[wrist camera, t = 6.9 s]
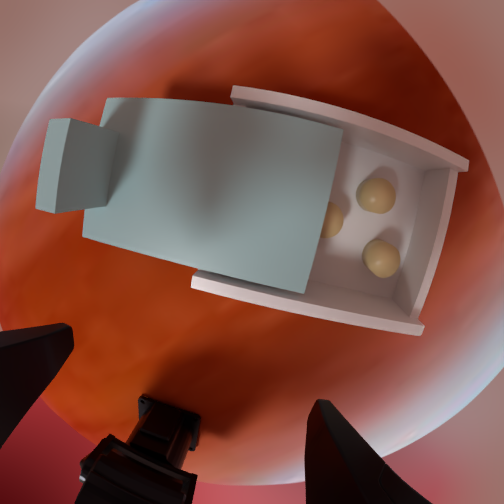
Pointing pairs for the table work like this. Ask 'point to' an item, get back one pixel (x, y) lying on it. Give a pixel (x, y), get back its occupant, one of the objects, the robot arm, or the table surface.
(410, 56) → the table surface
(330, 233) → the parts tub
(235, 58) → the table surface
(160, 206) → the lid
